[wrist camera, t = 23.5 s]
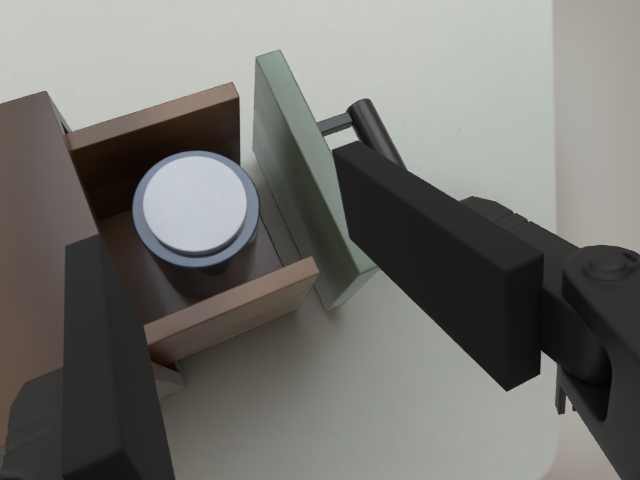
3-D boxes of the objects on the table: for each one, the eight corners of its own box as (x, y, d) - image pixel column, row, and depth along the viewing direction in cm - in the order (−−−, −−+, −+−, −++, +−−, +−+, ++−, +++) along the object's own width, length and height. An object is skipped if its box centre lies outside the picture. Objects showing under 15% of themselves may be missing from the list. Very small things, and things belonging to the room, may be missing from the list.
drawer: (334, 120, 32) (365, 22, 24) (411, 273, 30) (475, 225, 22) (54, 217, 28) (-25, 140, 20) (120, 402, 26) (62, 403, 18)
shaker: (234, 195, 29) (230, 127, 22) (271, 277, 28) (280, 235, 21) (144, 228, 28) (109, 169, 20) (179, 316, 27) (156, 285, 19)
